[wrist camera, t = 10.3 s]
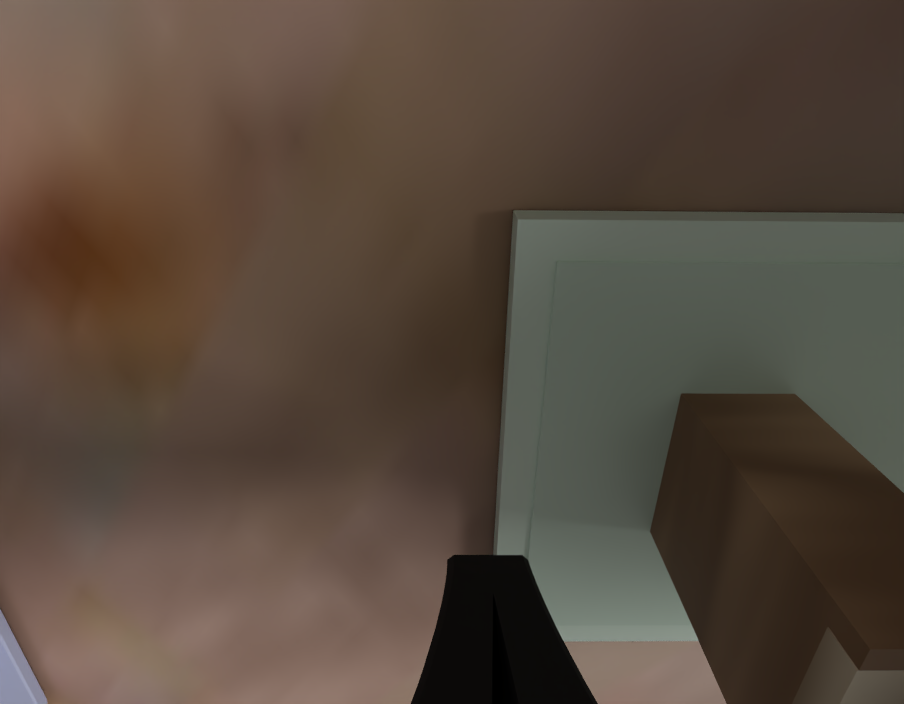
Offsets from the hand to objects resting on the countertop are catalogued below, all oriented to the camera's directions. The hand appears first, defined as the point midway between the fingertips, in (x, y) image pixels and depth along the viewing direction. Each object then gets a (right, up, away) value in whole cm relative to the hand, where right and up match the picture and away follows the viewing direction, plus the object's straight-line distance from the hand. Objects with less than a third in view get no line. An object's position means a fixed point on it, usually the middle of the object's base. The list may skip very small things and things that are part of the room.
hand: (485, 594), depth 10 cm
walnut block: (+6, +2, +3) cm, 7 cm away
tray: (+8, +2, +4) cm, 9 cm away
